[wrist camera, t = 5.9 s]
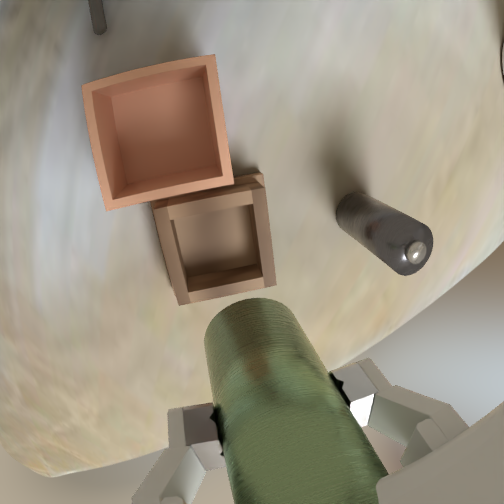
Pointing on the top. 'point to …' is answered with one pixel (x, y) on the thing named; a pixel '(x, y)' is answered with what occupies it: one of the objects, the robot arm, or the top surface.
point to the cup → (158, 131)
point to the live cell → (283, 413)
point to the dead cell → (386, 232)
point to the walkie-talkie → (97, 16)
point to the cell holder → (217, 240)
